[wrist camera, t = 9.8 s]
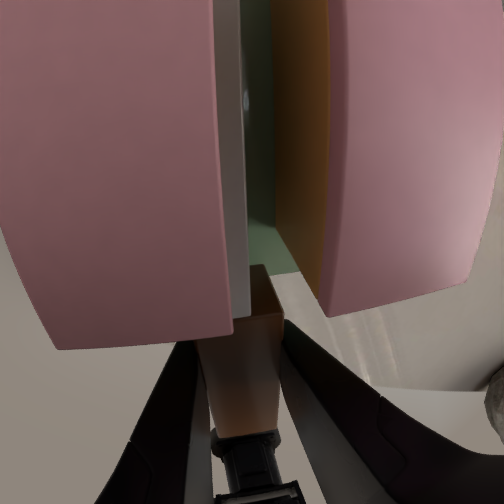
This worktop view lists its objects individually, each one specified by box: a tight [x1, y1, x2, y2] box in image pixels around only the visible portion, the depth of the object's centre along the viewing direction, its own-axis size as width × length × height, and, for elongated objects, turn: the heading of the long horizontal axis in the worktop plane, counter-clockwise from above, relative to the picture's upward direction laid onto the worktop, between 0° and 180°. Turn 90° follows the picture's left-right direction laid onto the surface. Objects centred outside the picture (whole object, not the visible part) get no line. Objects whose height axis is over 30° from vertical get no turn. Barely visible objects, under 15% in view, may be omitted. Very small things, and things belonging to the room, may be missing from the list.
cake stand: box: [240, 0, 300, 276], centre depth 9 cm, size 10×9×6 cm
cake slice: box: [0, 0, 234, 350], centre depth 4 cm, size 7×3×4 cm, turn 2°
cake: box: [270, 0, 504, 318], centre depth 5 cm, size 7×4×4 cm, turn 2°
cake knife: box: [193, 0, 284, 438], centre depth 6 cm, size 14×2×2 cm, turn 2°
